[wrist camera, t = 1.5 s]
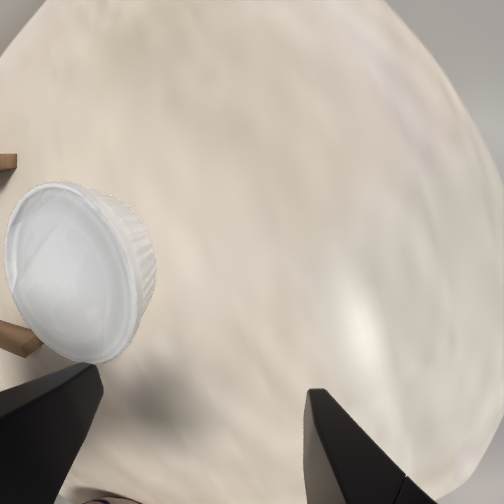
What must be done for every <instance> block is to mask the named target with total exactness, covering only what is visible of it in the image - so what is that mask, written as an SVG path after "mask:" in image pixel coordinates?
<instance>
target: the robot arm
mask: <svg viewBox="0 0 504 504" xmlns="http://www.w3.org/2000/svg"><path fill="white" fill-rule="evenodd" d="M103 390H104V389H103V384H102V381H101V378H100V375H99V372H98V368H97V367H96V365H94V364H91V363H87V362H80V363H78V364H75V365H73V366H70V367H67V368H65V369H62V370H59V371H57V372H54V373H51V374H49V375H46V376H43V377H40V378H38V379H35V380H32V381H29V382H27V383H24V384H21V385H18V386H15V387H12V388H10V389H7V390H4V391H1V392H0V504H54V502H55V499H56V497H57V495H58V493H59V491H60V489H61V487H62V484H63V482H64V480H65V478H66V476H67V474H68V472H69V470H70V468H71V466H72V464H73V462H74V460H75V458H76V456H77V454H78V452H79V450H80V448H81V446H82V444H83V442H84V440H85V438H86V436H87V434H88V431H89V429H90V426H91V424H92V421H93V418H94V416H95V413H96V411H97V408H98V406H99V403H100V401H101V398H102V396H103ZM303 470H304V480H305V488H306V496H307V504H437V503H436V502H435V501H434V500H433V499H432V498H430V497H429V496H428V495H427V494H426V493H425V492H424V491H423V490H422V489H421V488H419V487H418V486H417V485H416V484H415V483H414V482H413V481H412V480H411V479H410V478H409V477H408V476H406V474H405V473H404V472H403V471H402V470H401V469H400V468H399V467H398V466H397V465H396V464H395V463H394V462H393V461H392V460H391V459H390V458H389V457H388V456H387V454H386V453H385V452H384V451H383V450H382V449H381V448H380V447H379V446H378V445H377V444H376V443H375V442H374V441H373V440H372V439H371V438H370V437H369V436H368V435H367V434H366V433H365V431H364V430H363V429H362V428H361V427H360V426H359V425H358V424H357V423H356V422H355V421H354V420H353V419H352V418H351V417H350V415H349V414H348V413H347V412H346V411H345V410H344V409H343V408H342V407H341V406H340V405H339V404H338V402H337V401H336V400H335V399H334V398H333V397H332V396H331V395H330V394H329V393H328V391H327V390H325V389H323V388H318V389H309V390H308V391H307V396H306V403H305V410H304V447H303ZM405 476H406V477H405Z"/></svg>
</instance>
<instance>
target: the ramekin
mask: <svg viewBox="0 0 504 504" xmlns="http://www.w3.org/2000/svg"><path fill="white" fill-rule="evenodd" d="M4 265H5V272H6V277H7V281H8V285H9V289H10V292H11V294H12V297H13V300H14V302H15V304H16V306H17V308H18V310H19V312H20V314H21V316H22V317H23V319H24V321H25V322H26V324H27V325H28V326H29V328H30V329H31V330H32V331H33V332H34V334H35V335H36V336H37V337H38V338H39V339H40V340H41V341H42V342H43V343H44V344H45V345H47V346H48V347H49V348H50V349H52V350H53V351H55V352H56V353H58V354H59V355H61V356H63V357H65V358H67V359H69V360H72V361H75V362H79V363H80V362H87V363H91V364H94V365H95V364H100V363H105V362H107V361H110V360H112V359H113V358H115V357H117V356H118V355H119V354H121V353H122V352H123V350H124V349H125V348H126V347H127V346H128V345H129V343H130V342H131V340H132V339H133V337H134V335H135V333H136V331H137V329H138V326H139V323H140V319H141V317H142V315H143V313H144V311H145V309H146V307H147V306H148V303H149V301H150V299H151V297H152V293H153V291H154V285H155V281H156V260H155V255H154V249H153V246H152V242H151V240H150V238H149V235H148V232H147V231H146V229H145V227H144V225H143V223H142V222H141V221H140V219H139V218H138V216H137V215H136V214H135V213H134V212H133V211H132V210H131V208H130V207H128V206H127V205H126V204H125V203H124V202H122V201H120V200H119V199H117V198H116V197H114V196H111V195H109V194H107V193H103V192H100V191H96V190H92V189H87V188H85V187H83V186H81V185H78V184H76V183H72V182H66V181H52V182H46V183H43V184H40V185H37V186H35V187H34V188H32V189H31V190H29V191H28V192H27V193H26V194H25V195H24V196H23V197H22V198H21V199H20V200H19V202H18V203H17V204H16V206H15V208H14V210H13V212H12V214H11V216H10V219H9V222H8V225H7V229H6V234H5V240H4Z"/></svg>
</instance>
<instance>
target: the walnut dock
mask: <svg viewBox="0 0 504 504" xmlns="http://www.w3.org/2000/svg"><path fill="white" fill-rule="evenodd" d="M13 168H17V154H0V172H2V171H6V170H10V169H13ZM42 344H43V342H42V341H41V340H40V339H39V338H38V337H37V336H36V335H35V334H34V332H33V331H32V330H30V329H27V328H23V327H20V326H17V325H14V324H10V323H7V322H4V321H1V320H0V348H2V349H4V350H6V351H9V352H11V353H14V354H16V355H19V356H21V357H24V358H26V357H27V356H28V355H29V354H31V353H32V352H33V351H34V350H36V349H37V348H38V347H39V346H41V345H42Z"/></svg>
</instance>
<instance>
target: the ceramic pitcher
mask: <svg viewBox="0 0 504 504" xmlns="http://www.w3.org/2000/svg"><path fill="white" fill-rule="evenodd" d="M83 504H139V503H136V502H134V501H132V500H128V499H120V498H112V497H104V498H97V499H92V500H89V501H87V502H84V503H83Z"/></svg>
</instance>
